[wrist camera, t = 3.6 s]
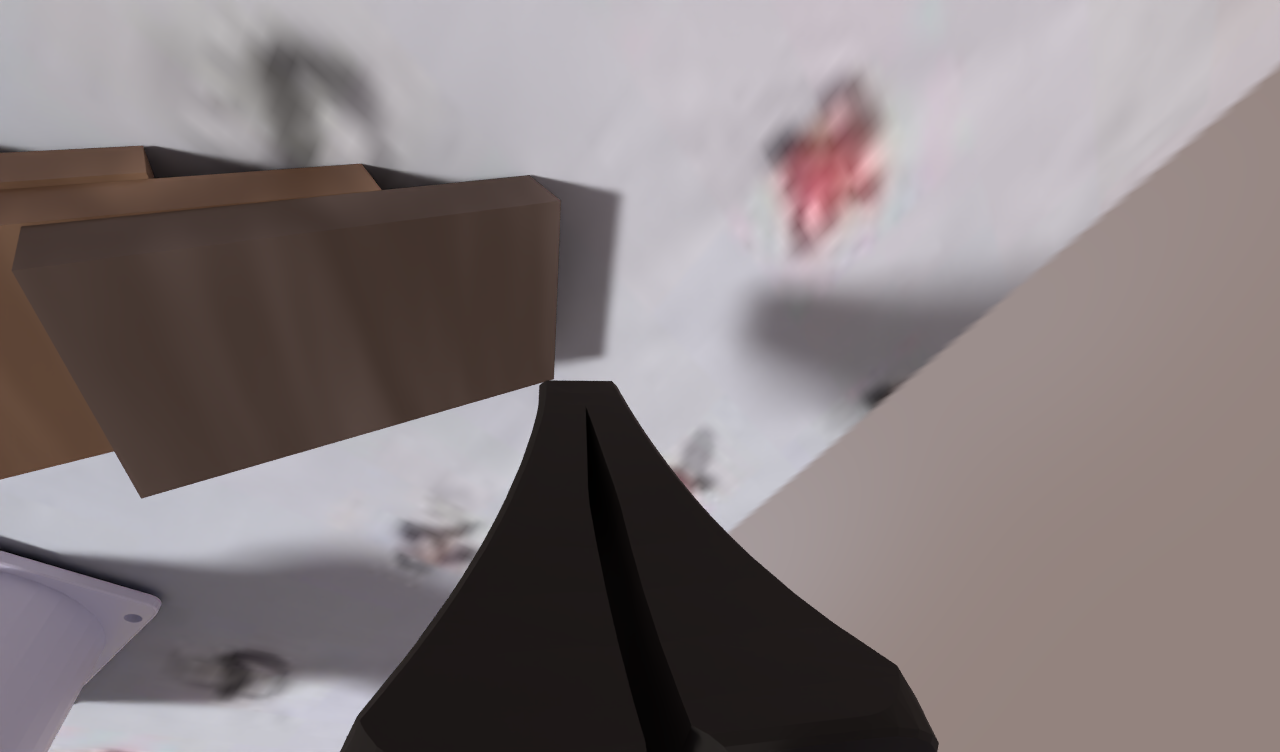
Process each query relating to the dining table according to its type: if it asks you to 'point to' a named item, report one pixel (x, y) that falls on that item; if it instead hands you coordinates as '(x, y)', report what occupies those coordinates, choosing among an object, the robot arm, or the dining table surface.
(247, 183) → the domino
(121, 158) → the domino
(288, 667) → the dining table surface
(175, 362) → the domino
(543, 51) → the dining table surface
